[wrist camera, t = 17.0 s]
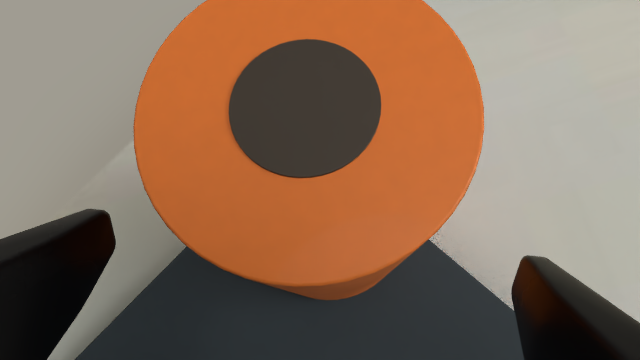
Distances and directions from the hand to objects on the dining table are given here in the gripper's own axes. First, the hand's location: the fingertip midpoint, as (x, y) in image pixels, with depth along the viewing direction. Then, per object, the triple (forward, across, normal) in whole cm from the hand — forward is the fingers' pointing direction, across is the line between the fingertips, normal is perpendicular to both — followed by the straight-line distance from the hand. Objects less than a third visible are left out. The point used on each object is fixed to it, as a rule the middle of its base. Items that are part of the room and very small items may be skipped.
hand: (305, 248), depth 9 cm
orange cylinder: (+7, 0, +4) cm, 8 cm away
